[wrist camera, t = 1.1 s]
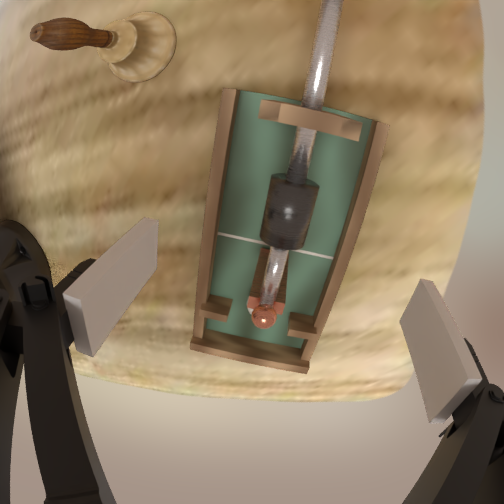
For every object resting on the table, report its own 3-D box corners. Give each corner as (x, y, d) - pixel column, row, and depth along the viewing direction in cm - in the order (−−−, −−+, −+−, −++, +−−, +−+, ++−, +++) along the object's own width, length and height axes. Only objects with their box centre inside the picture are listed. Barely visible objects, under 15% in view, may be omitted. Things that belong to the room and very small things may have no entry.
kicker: (256, 260, 34) (239, 329, 24) (308, 2, 21) (313, -47, 12) (287, 266, 34) (281, 338, 24) (344, 11, 21) (370, -33, 11)
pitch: (198, 327, 42) (171, 395, 31) (230, 88, 28) (191, 83, 17) (306, 350, 41) (305, 423, 31) (380, 122, 27) (427, 138, 17)
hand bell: (191, 47, 26) (104, 16, 12) (132, 97, 29) (25, 112, 15) (150, -2, 23) (55, -46, 9) (96, 48, 26) (-12, 42, 12)
